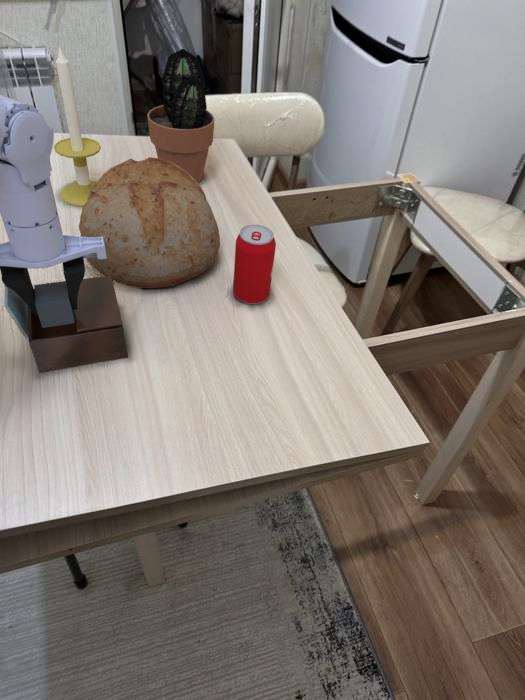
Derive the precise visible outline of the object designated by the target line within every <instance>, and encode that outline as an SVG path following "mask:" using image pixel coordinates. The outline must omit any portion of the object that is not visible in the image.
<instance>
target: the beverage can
mask: <svg viewBox="0 0 525 700" xmlns="http://www.w3.org/2000/svg"><path fill="white" fill-rule="evenodd" d="M276 247H277V241H276V239H275V237H274V232H273V230H271V228H269V227H267V226H265V225H262V224H255V223H254V224H247V225H245V226H242V228H241V229H240V231H239V233H238V235H237V237H236V238H235V247H234V265H233V266H234V267H233V283H232V293H233V295H234V297H235V298H236V299H237V300H238V301H240V302H242V303H245V304H249V305H256V304H260V303H263V302H265V301H266V300H268V299H269V297H270V295H271V289H272V280H273V270H274V265H275V256H276Z"/></svg>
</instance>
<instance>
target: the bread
mask: <svg viewBox="0 0 525 700" xmlns="http://www.w3.org/2000/svg"><path fill="white" fill-rule="evenodd" d="M95 182H96V183H95V185H94V186H93V188H92V189H91V192H90V194H89V196H88V200H87V202H86V203H85V204H84V205H83V206H82V209H81V213H80V216H79V223H78V231H79V233H80V237H103V240H104V244H105V250H106V256H107V258H106V259H98V258H97V257H89V258H85V259H86V261H87V262H88V263H89V264H90V265H91V267H92V268H93V269H94V270H95V271H96V272H98V273H100V274H101V275H103V276H110V275H111V277H112V280H113V282H117V283H119V284H122V285H124V286H129V287H133V288H134V287H135V288H142V289H144V288H145V289H157V288H158V289H159V288H160V289H161V288H171V287H173V286H176V285H179V284H181V283H183V282H186V281H188V280H191V279H192V278H194V277H197V276H198V275H201V274H203V273H204V272H206V271H207V270H208V269H209V268H210V267H212V265H213V264H214V262H215V260H216V258H217V256H218V254H219V250H220V247H221V237H220V229H219V226H218V223H217V220H216V218H215V215H214V212H213V209H212V207H211V205H210V203H209V201H208V200H207V197H206V193H205V192H204V189H203V188H202V186H201V185H200V184H199V183H197V182H196V181H195V179H194V178H193V177H192V176H191V175H190V174H189V173H188V172H186V171H185V170H184V169H182V168H181V167H179V166H178V165H176V164H174V163H172V162H170V161H167V160H164V159H161V158H158V157H150V156H149V157H147V158H145V159H142V160H134V159H133V158H129V159H128V160H124V161H122V162H120V163H119V164H116V165H114V166H112V167H110V168H109V169H108V170H107V171H105V172H104V173H103V174H102V175H101V177H100V178H99V179H98V180H97V181H95Z"/></svg>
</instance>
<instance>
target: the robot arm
mask: <svg viewBox="0 0 525 700" xmlns="http://www.w3.org/2000/svg"><path fill="white" fill-rule="evenodd" d="M54 135H55V133H54V128H53V126H51V127H50V126H49V125H48V123H47V121H46V120H45V118H44V116H43V115H42V113H39V109H38V108H37V107H35V106H33V105H31V104H29V103H25V102H22V101H19V100H16V99H14V98H10V97H7V96H4V95H1V94H0V217H1V220H2V222H3V226H4V229H5V232H6V235H7V239H8V241H6V242H2V243H0V274H1V281H2V283H3V286H4V287H5V286H6V287H8V288H10V289H11V290H12V291H14V292H15V293H16V294H17V295H19V296H20V297H21V298H22V299H23V300H24V302H25V303H26V304H27V305H28V306H29V308H30V309H31V311H32V312H33V314H34V315H38V313H37V309H36V306H35V294H34V286H33V283H32V280H31V276H30V272H29V269H35V270H36V269H37V270H38V269H45V268H50V267H54V266H57V265H60V264H62V271H63V277H64V281H66V283H67V287H68V290H69V295H70V303H71V307H72V310H77V309H78V308H77V297H78V291H79V288H80V285H81V282H82V280H83V279H85V275H86V265H85V259H86V258H89V257H97V258H98V259H106V258H107V256H106V250H105V244H104V240H103V237H81V236H78V235H68V234H67V235H66V234H63V229H62V225H61V220H60V216H59V212H58V207H57V203H56V198H55V193H54V190H53V189H54V188H53V186H52V182H51V175H52V174H51V172H52V171H53V168H52V164H51V154H52V151H53V148H54V141H55V137H54Z"/></svg>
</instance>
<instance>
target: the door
mask: <svg viewBox="0 0 525 700" xmlns="http://www.w3.org/2000/svg"><path fill="white" fill-rule="evenodd" d="M3 300H4V303H3V304H4V305H3V306H4V308H5V310H6V311H7V313H8V314H9V316H10V317H11V319H12V320H13V322H14V324H15V325H16V327H17V328H18V329H19V331H20V333H21V334H22V336H23V337H24V339H25V340H27V339H29V333H28V308H27V304H26V303H25V302H24V300H23V299H22V298H21V297H20V296H19V295H17V294H16V293H15V292H14V291H12V290H11V289H10V288H8V287H6V286H5V285H4V299H3Z"/></svg>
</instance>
